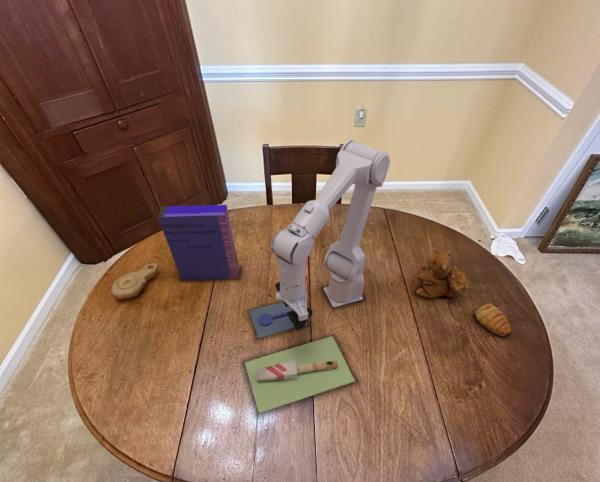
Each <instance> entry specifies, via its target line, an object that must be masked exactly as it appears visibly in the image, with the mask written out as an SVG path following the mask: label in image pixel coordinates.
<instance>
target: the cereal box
mask: <svg viewBox="0 0 600 482" xmlns="http://www.w3.org/2000/svg"><path fill="white" fill-rule="evenodd" d="M157 219H158V222H159V224H160V226H161V229H162V232H163V234H164V237H165V240H166V243H167V245H168V248H169V250H170V253H171V256H172V259H173V261H174V264H175V267H176V270H177V271H178V274H179V277H180V281H205V280H207V281H208V280H226V279H238V277H239V271H240V266H239V265H240V264H239V260H238V256H237V251H236V245H235V240H234V236H233V231H232V224H231V220H230V214H229V209H228V205H227V204H202V205H198V204H197V205H166V206H161V208H160V210H159V212H158V215H157Z"/></svg>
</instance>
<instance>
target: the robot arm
mask: <svg viewBox="0 0 600 482" xmlns="http://www.w3.org/2000/svg"><path fill="white" fill-rule="evenodd" d="M339 149H340V150H339V152H338V153H337V154H336V161H335V168H334V170H333V172H332V173H331V175H330V176H329V178H328V179H327V181H326V182H325V184H324V186H323V187H322V189H321V191H320V192H319V194H318V195H317V197H316V198H315V199H314V200H313V199H312V200H308V201H307V202H305V204H304V205H303V206H302V207H301V209H300V210H299V212H298V213H297V214H296V216H295V217H294V218H293V219H292V221H291V222H290V223H289V225H287V227H286V228H282V229H280V230H278V231H276V233H275V234H274V236H273V237H272V240H271V245H270V247H269V250H270V252H271V253H272V254H274V255H275V256H274V257H275V260H277V268H278V278H279V281H278V282H276V283H275V289H276V291H277V292H275V297H276V300H277V301H280V302H281V301H282V302H284V304H285V306H286V307H288V306H290V307H291V308H292V309H293V311H290V312H287V315H288V317H289V319H290V321H291V322H293V325H294V328H293V329H294V330H295V331H299V330H302V329H304V328H305V326H306V325H305V323H306V322H308V320H309V319H310V318H311V317H313V313H314V312H313V309H312V307H311V306H309V307H307V289H306V260H307V259H308V258H309V255H310V254H311V251H312V248H313V246H314V245H315V239H316V237H317V236H318V235H319V234H320V232H321V231H322V229H323V228H324V227H325V226H326V224H327V223H328V221H329V220H330V210H332V208H333V207H334V206H335V205H336V203H338V201H339V200H340V199H341V198H342V197H343V196H344V195H345V193H346V192H347V191H348V190H349V189H350V188H351V187H352V186H353V185H354V188H353V192H352V195H351V198H350V203H349V205H348V209H347V213H346V217H345V220H344V223H343V228H342V230H341V235H340V237H339V238H340V239H339V240H337V241H334V242H333V243H332V244H330V245H329V248H328V250H327V252H326V254H325V256H324V258H323V266H324V268H326V269H327V273H328V274H329V281H328V286H324V287H323V291H324V293H325V295H326V296H327V298H328V300H329V302H330V304H331V306H332V308H338V307H341V306H344V305H348V304H352V303H356V302H359V301H362V300H363V299H364V297H363V293H364V286H365V277H364V273H363V272H364V269H365V261H366V257H367V256H366V254H365V252H364V250H363V249H362V248H361V246H360V242H361V240H362V239H361V238H362V236H363V232H364V229H365V226H366V224H367V219H368V217H369V214H370V211H371V207H372V204H373V201H374V197H375V194H376V191H377V188H382V187H383V185H384V184H385V183H384V182H385V180H386V178H387V174H388V172H389V171H388V170H389V169H390V164H391V159H390V155H389V153H388V152H387V151H385V150H379V149H377V148H373V147H371V146H368V145H366V144H362V143H360V142H356V140H353V139H349V140H347V141H345V142H344V144H343V145H342V146H341V147H340V148H339Z"/></svg>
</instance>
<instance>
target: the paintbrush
mask: <svg viewBox="0 0 600 482" xmlns="http://www.w3.org/2000/svg"><path fill="white" fill-rule="evenodd" d="M327 364H330V365H331V366H328V365H327ZM332 368H338V363H337V360H334V361H327V362H320V363H313V364H306V365H298V366H296V362H295V360H292V361H288V362H285V363H281V364H277V365H273V366H269V367H265V368H261V369H258V370H256V379H257V380H297V374H298V373H304V372H311V371H318V370H325V369H332Z"/></svg>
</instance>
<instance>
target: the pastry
mask: <svg viewBox="0 0 600 482" xmlns="http://www.w3.org/2000/svg"><path fill="white" fill-rule="evenodd" d="M474 315H475V318H476V321H477V322H479V324H480V325H482V327H484V328H486V329H487V330H488V331H489V332H490V333H493V334H495V335H498V336H499V337H505V336H507V335H509V334H510V333H511V332H512V327H511V325H510V322H509V321H508V318H507V316H505V314H504V312H503V311H501V310H500V308H499V307H498V306H494V305H493V304H492V303H487V304H484V305H482V306H481V307H479V308H478V309H477V310H476V311H475V312H474Z"/></svg>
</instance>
